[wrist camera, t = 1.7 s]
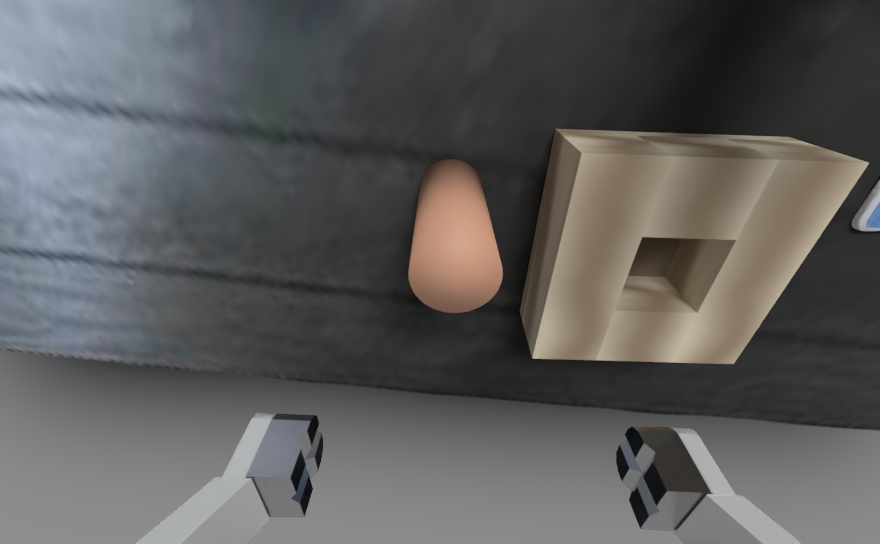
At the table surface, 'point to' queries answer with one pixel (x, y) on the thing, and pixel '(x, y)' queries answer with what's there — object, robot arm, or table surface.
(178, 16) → the table surface
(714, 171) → the socket block
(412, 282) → the dowel
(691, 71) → the table surface
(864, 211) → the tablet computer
